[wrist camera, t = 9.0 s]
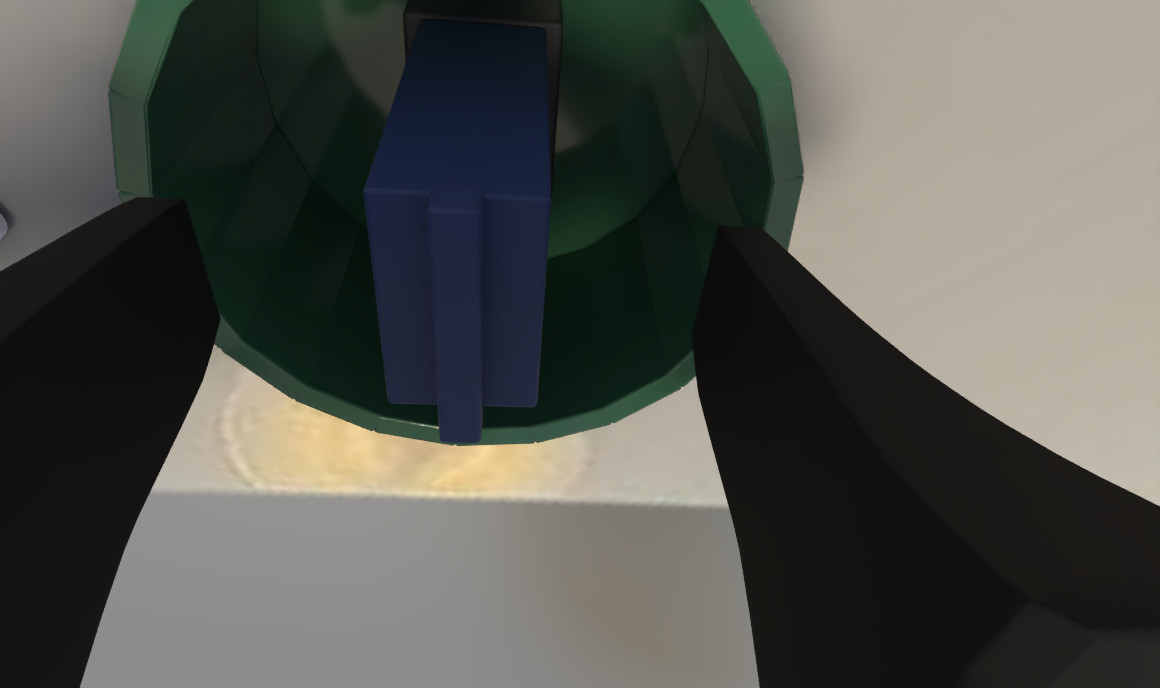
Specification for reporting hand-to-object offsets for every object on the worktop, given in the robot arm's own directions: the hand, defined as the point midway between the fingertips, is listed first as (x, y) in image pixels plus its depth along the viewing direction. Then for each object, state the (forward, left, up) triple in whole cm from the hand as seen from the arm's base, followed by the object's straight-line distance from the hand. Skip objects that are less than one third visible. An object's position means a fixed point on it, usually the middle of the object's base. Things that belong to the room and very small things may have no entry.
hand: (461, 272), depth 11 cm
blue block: (0, 0, -7) cm, 7 cm away
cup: (0, 0, -7) cm, 7 cm away
